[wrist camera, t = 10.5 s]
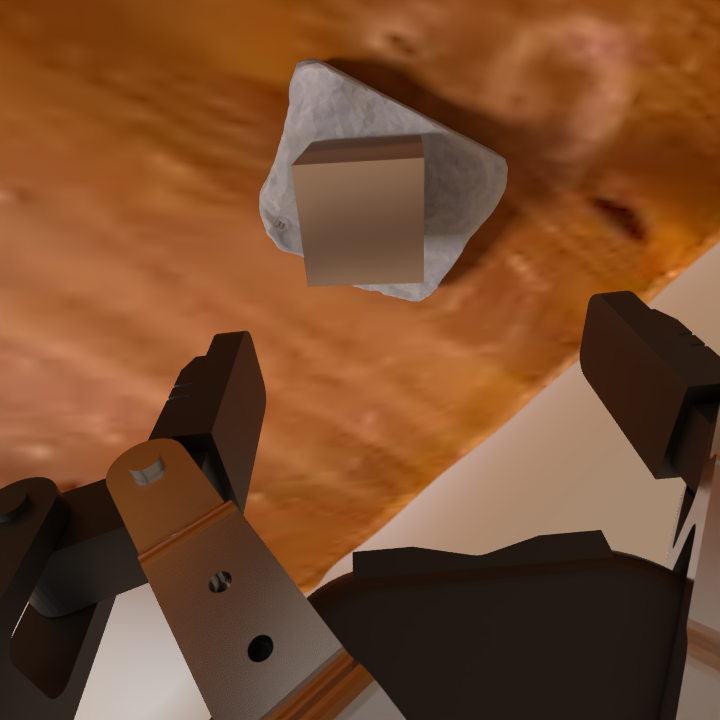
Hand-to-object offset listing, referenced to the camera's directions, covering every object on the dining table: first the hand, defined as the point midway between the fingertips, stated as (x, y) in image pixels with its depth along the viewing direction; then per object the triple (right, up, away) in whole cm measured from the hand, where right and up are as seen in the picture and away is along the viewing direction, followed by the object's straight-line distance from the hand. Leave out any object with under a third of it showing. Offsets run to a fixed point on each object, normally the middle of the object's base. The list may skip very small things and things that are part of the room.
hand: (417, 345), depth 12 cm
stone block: (-1, +9, +16) cm, 19 cm away
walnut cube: (-1, +8, +12) cm, 14 cm away
